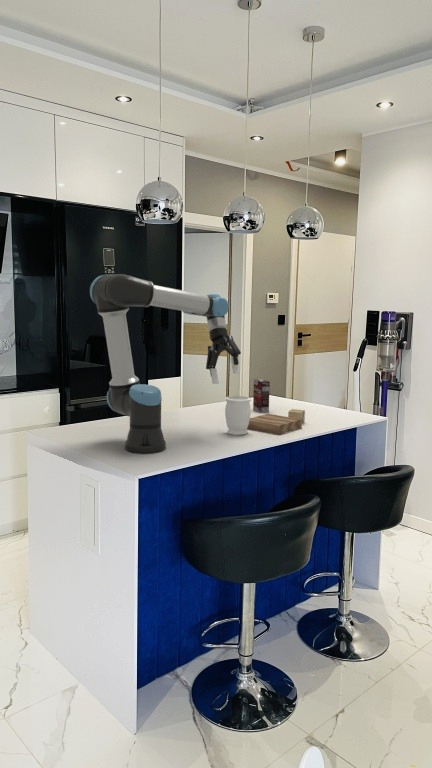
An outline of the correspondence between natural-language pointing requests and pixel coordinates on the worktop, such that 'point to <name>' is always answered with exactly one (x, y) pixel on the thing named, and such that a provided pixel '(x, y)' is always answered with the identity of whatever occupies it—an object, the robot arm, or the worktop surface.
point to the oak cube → (297, 414)
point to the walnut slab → (274, 424)
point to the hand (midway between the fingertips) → (225, 378)
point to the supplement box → (261, 396)
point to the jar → (237, 414)
